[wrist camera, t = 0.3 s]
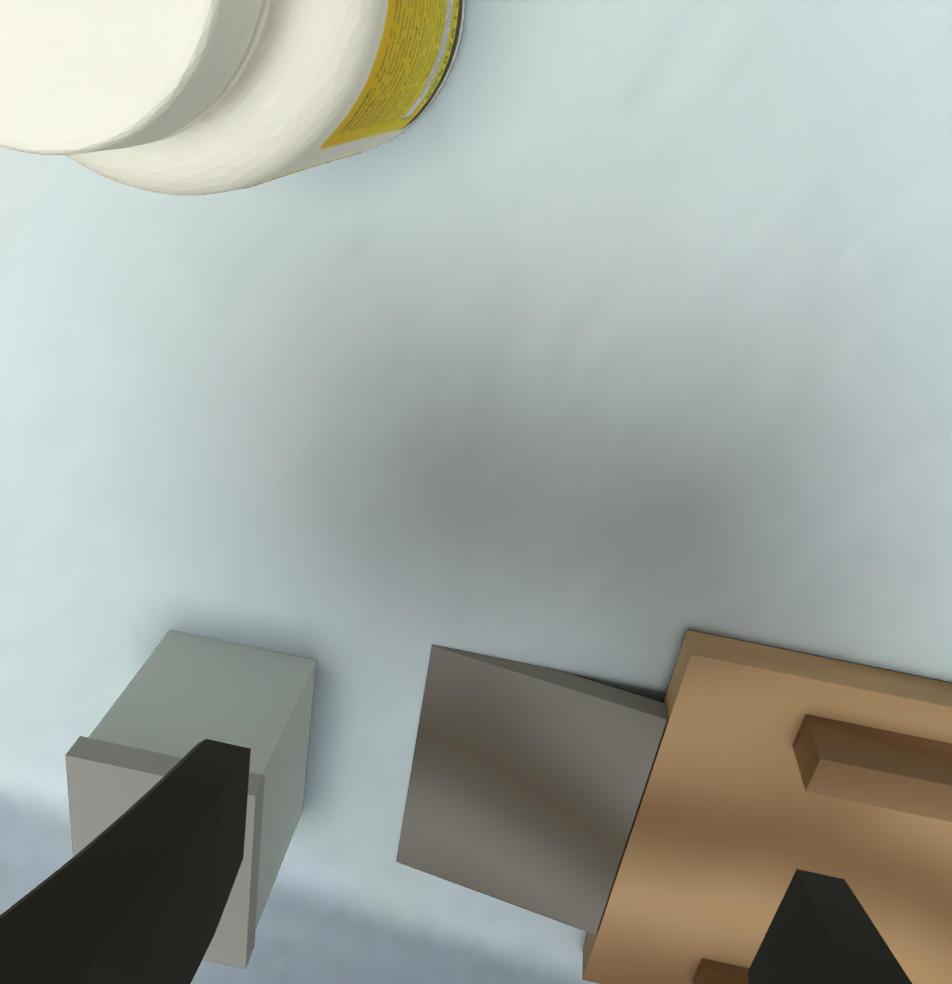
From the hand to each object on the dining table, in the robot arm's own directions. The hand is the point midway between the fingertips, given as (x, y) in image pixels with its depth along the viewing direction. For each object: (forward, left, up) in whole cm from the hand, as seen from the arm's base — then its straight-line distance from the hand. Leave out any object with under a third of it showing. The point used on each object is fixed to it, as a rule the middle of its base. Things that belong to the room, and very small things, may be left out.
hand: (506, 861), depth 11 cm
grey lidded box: (-8, +7, -10) cm, 15 cm away
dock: (-8, -7, -10) cm, 15 cm away
